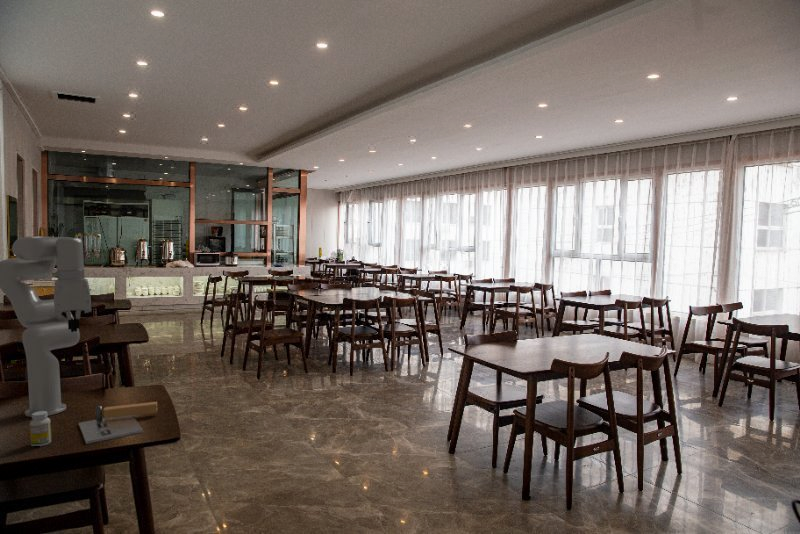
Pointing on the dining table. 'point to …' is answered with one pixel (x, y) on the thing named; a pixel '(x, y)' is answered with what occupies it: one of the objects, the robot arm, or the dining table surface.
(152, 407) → the swing bar
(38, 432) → the supplement bottle
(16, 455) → the dining table surface
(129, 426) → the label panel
